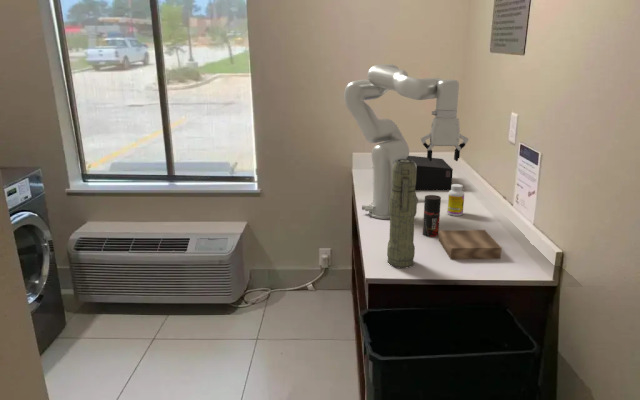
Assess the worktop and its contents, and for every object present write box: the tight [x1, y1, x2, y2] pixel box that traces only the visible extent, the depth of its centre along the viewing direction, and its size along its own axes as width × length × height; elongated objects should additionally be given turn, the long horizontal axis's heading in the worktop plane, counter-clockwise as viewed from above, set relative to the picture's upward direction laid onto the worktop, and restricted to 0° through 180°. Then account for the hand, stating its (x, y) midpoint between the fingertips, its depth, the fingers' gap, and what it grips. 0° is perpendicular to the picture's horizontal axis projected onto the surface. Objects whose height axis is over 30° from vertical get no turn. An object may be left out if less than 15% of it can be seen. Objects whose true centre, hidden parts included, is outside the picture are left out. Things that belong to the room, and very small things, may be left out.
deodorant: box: [422, 194, 442, 238], centre depth 187 cm, size 6×6×15 cm
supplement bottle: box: [446, 183, 465, 217], centre depth 210 cm, size 7×7×13 cm
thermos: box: [386, 159, 418, 269], centre depth 159 cm, size 9×12×35 cm
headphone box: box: [407, 155, 454, 191], centre depth 258 cm, size 25×35×14 cm
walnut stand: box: [438, 229, 502, 260], centre depth 174 cm, size 17×17×4 cm
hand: (442, 160), depth 183 cm, fingers open, 9 cm apart
